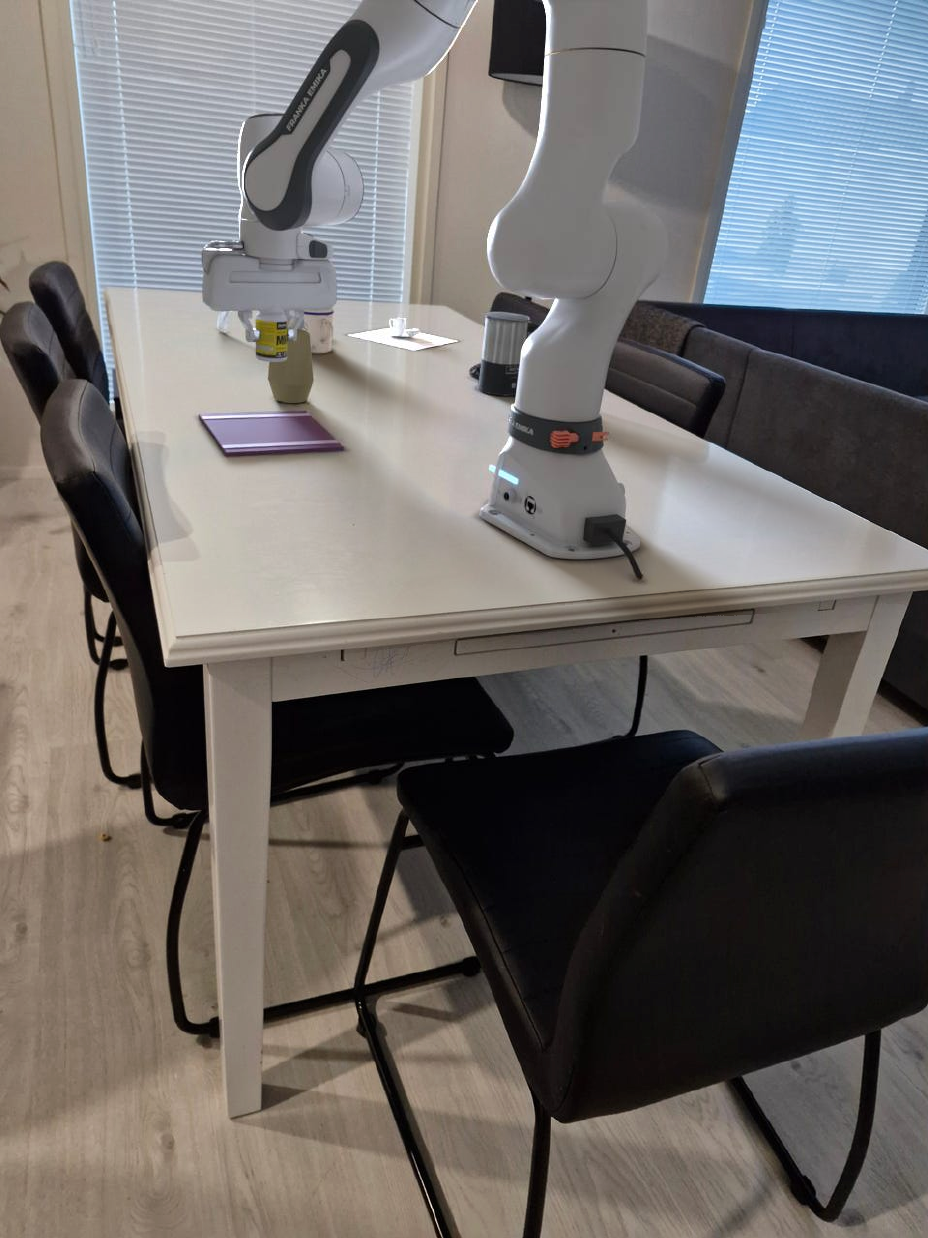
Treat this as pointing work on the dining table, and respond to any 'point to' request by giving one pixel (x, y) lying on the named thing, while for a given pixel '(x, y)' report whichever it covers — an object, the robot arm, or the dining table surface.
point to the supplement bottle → (272, 334)
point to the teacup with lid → (319, 329)
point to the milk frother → (502, 352)
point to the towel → (268, 433)
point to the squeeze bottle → (293, 369)
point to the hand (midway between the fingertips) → (271, 340)
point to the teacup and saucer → (403, 336)
